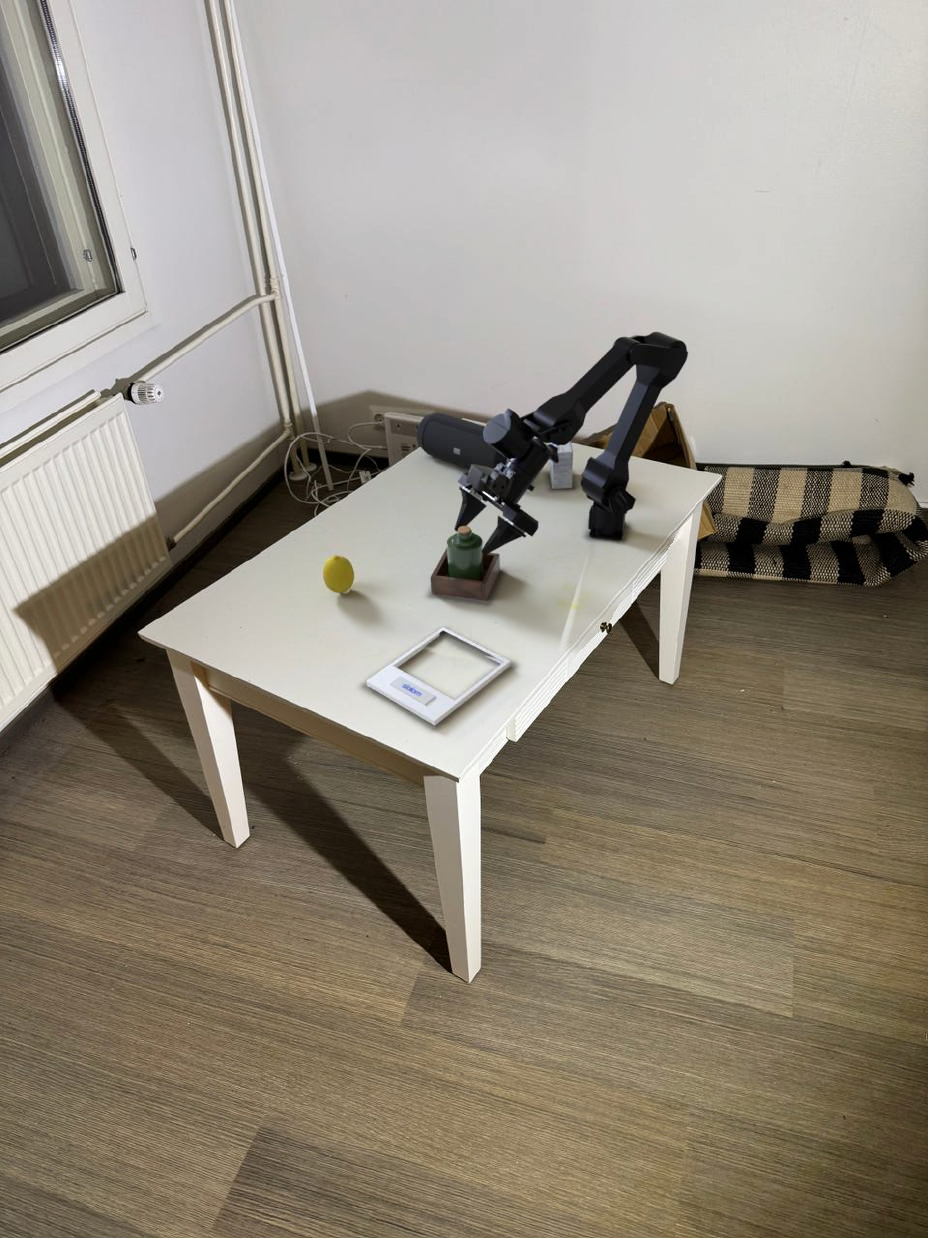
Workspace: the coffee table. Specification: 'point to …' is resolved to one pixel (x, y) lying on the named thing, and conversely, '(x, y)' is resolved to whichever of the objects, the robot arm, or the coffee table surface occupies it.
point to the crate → (464, 586)
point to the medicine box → (562, 467)
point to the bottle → (465, 555)
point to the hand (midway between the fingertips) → (469, 542)
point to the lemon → (338, 574)
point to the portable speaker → (457, 441)
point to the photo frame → (421, 695)
